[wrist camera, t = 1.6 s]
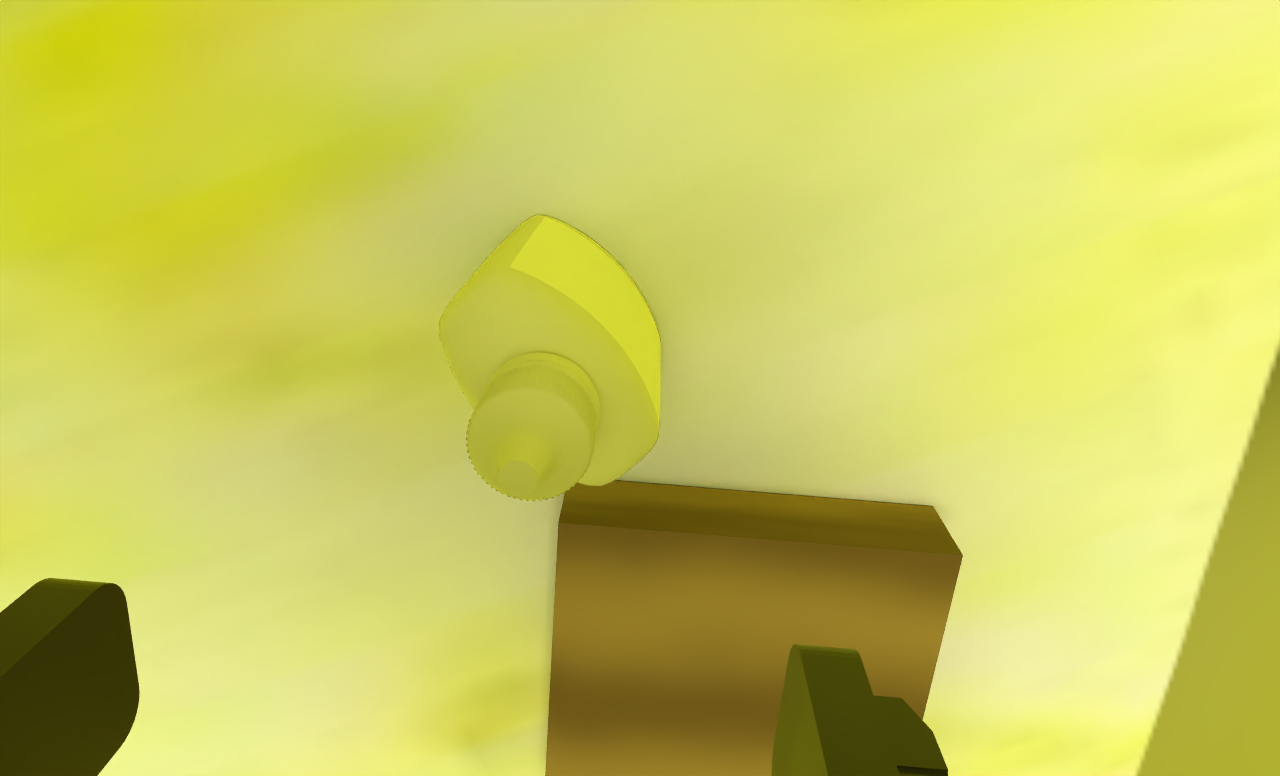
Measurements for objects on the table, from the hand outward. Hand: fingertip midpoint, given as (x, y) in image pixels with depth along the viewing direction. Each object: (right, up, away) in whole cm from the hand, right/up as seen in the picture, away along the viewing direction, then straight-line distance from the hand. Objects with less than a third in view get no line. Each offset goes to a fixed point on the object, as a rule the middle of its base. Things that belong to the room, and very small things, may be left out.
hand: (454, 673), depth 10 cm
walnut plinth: (+5, -6, +20) cm, 22 cm away
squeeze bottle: (0, +6, +16) cm, 17 cm away
